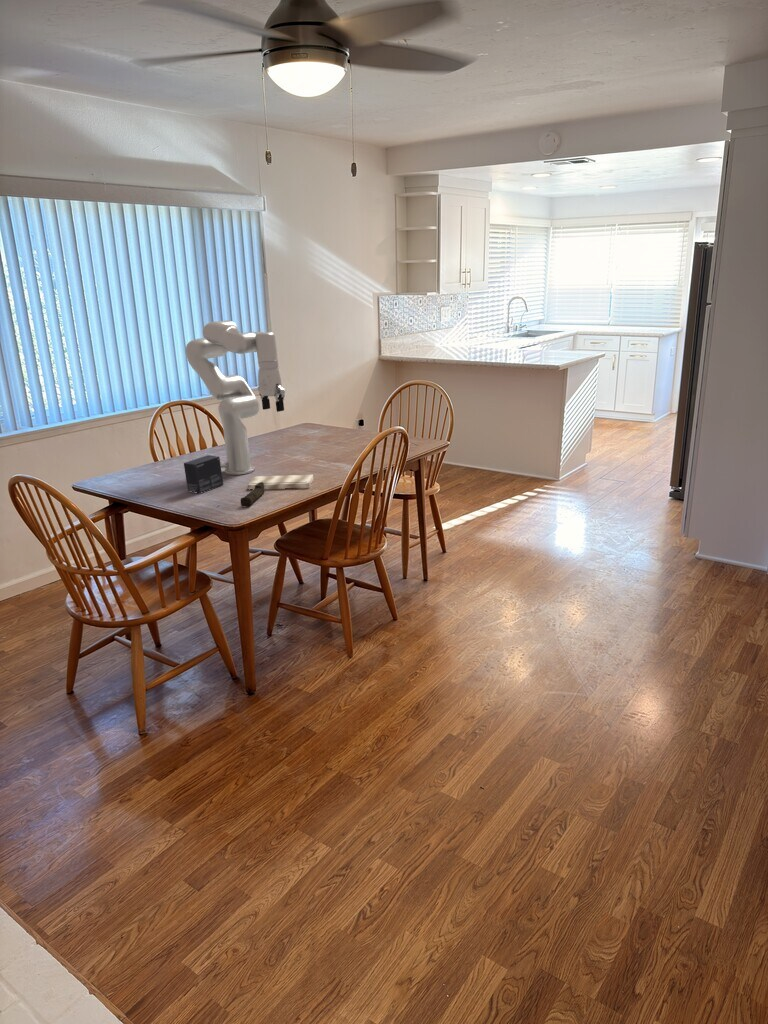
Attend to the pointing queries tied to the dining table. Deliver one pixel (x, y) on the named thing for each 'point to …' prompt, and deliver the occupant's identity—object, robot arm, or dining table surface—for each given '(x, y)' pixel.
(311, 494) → the dining table surface
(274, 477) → the birch board
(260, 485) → the hand tool
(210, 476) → the small box
